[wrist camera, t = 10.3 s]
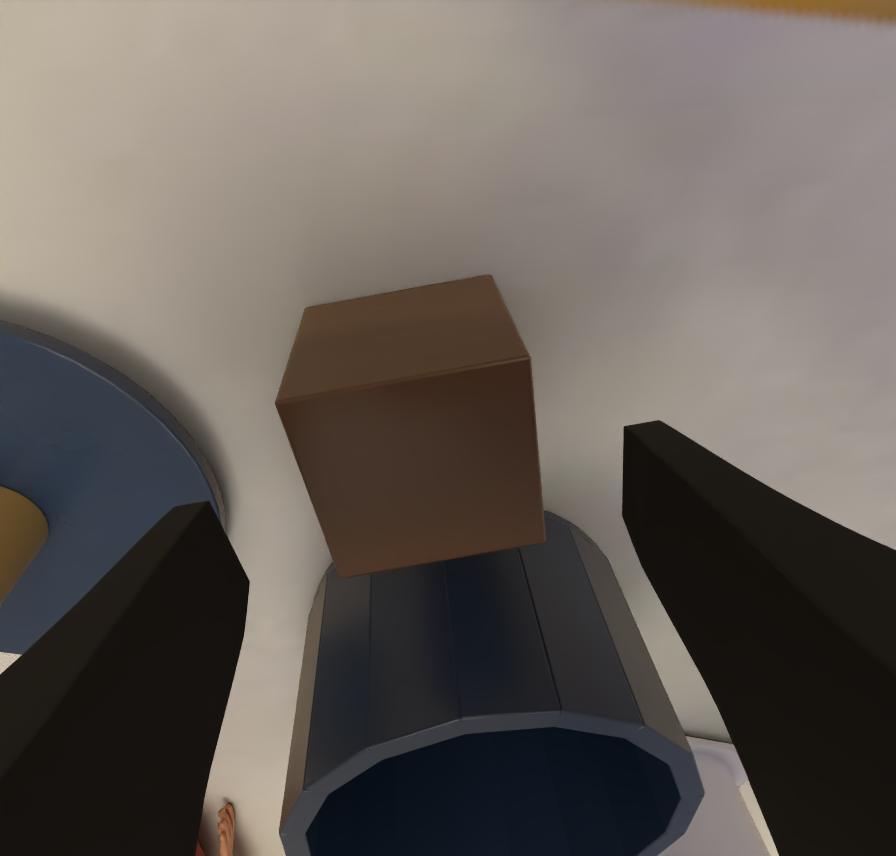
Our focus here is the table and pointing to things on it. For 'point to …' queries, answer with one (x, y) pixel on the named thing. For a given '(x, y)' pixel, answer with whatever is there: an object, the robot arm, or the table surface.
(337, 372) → the block
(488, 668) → the cup
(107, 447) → the lid
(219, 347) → the table surface
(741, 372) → the table surface
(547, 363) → the table surface
